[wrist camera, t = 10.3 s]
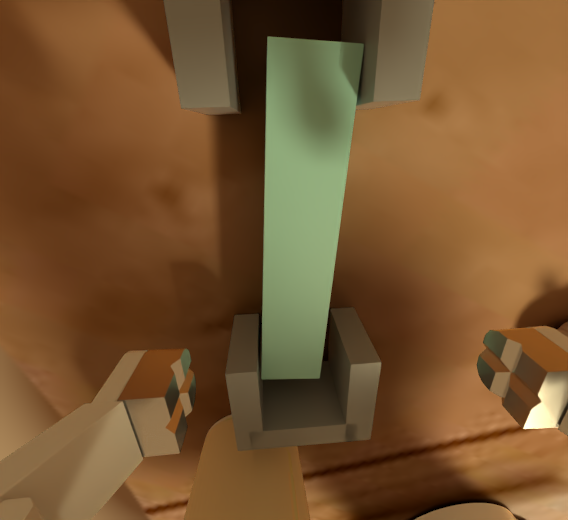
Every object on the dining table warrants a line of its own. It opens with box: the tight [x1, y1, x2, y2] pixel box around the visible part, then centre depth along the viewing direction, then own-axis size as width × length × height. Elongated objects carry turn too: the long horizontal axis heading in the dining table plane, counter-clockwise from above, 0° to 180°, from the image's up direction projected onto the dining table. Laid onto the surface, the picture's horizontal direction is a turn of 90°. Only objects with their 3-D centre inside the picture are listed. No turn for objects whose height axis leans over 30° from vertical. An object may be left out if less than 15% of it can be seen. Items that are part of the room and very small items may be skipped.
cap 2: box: [225, 307, 382, 451], centre depth 18 cm, size 6×8×5 cm
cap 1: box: [163, 0, 434, 115], centre depth 10 cm, size 6×8×5 cm
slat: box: [261, 36, 364, 380], centre depth 15 cm, size 16×3×4 cm, turn 177°
